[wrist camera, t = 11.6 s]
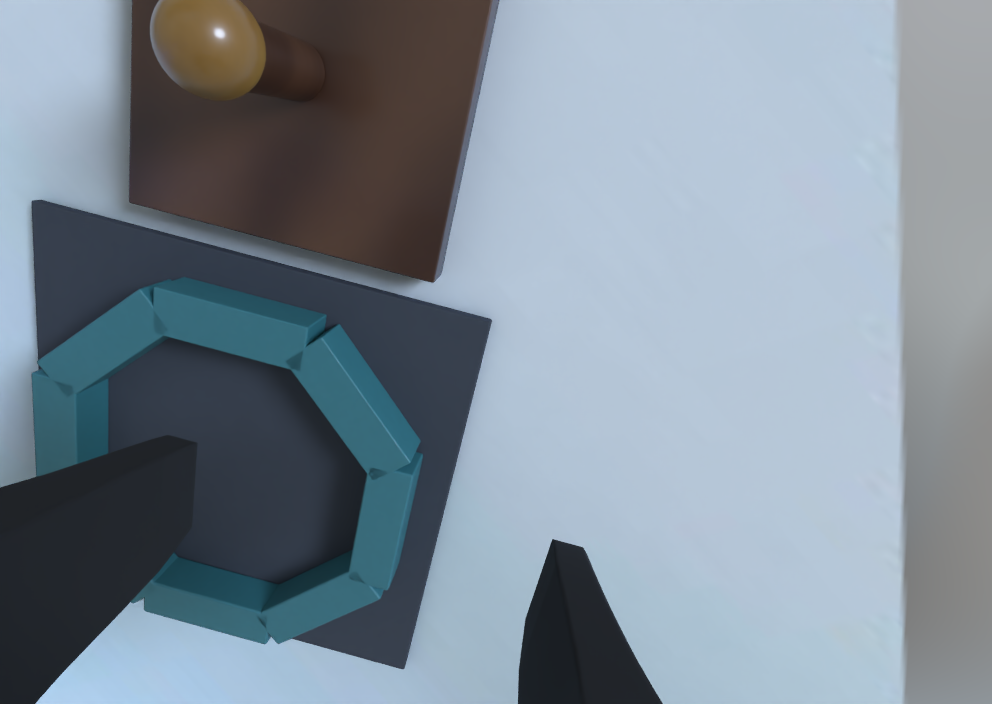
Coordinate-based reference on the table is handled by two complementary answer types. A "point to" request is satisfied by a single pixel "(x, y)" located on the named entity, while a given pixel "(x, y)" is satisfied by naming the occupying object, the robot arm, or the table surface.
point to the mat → (270, 409)
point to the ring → (330, 383)
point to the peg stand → (310, 120)
